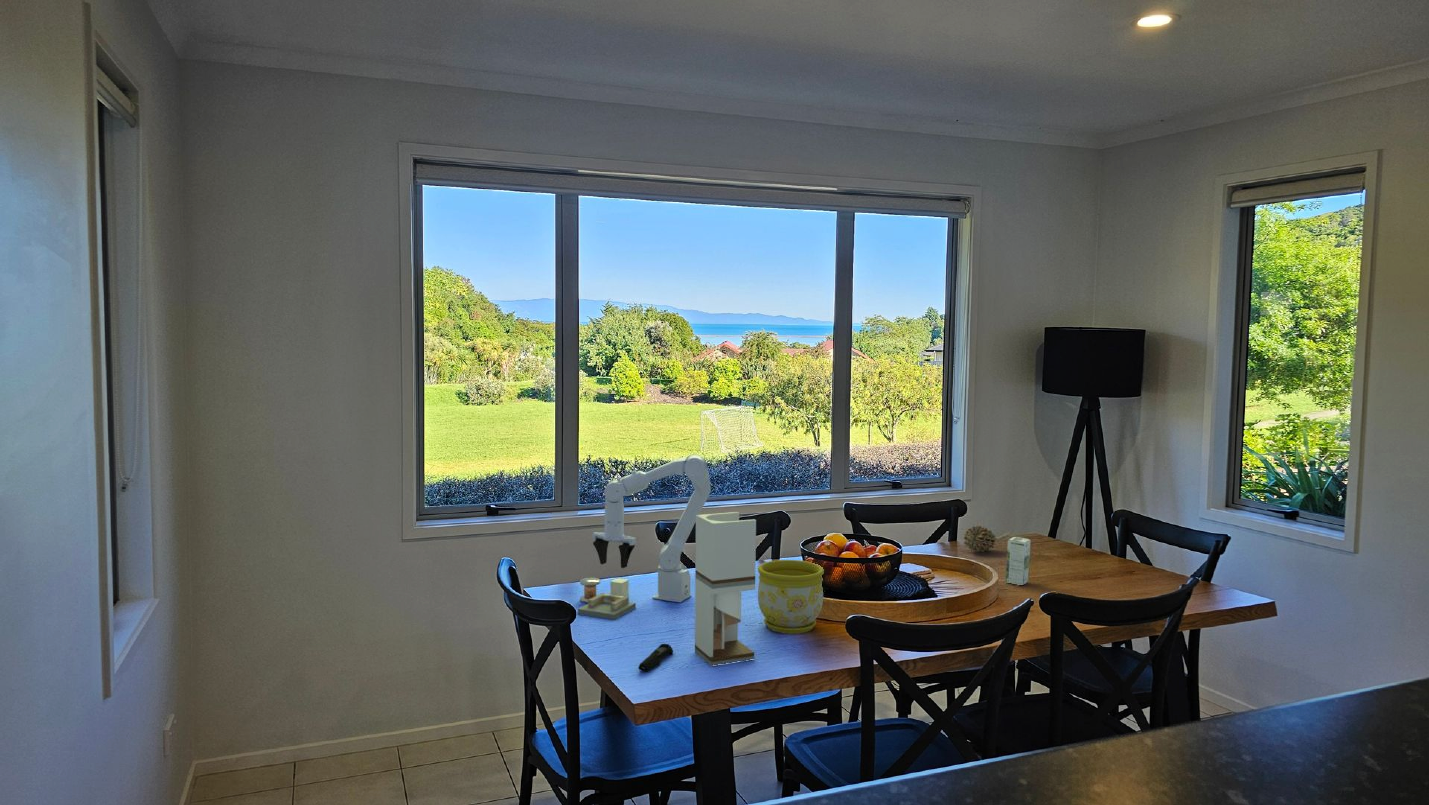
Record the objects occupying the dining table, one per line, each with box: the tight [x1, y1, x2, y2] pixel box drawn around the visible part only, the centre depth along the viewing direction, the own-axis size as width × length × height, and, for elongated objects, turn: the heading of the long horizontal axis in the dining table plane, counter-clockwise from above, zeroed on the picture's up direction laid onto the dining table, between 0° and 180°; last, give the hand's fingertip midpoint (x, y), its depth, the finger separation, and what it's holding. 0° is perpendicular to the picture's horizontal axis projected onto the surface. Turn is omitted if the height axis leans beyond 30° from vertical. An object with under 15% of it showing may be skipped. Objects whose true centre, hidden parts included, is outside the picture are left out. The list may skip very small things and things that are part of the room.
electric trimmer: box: [638, 643, 674, 672], centre depth 223 cm, size 4×16×3 cm, turn 159°
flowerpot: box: [757, 559, 824, 635], centre depth 250 cm, size 18×18×16 cm
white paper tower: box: [694, 511, 757, 667], centre depth 226 cm, size 11×11×35 cm
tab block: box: [609, 577, 630, 597], centre depth 277 cm, size 4×4×5 cm
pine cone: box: [962, 525, 1011, 552], centre depth 339 cm, size 22×10×10 cm, turn 123°
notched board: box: [577, 592, 637, 621], centre depth 263 cm, size 12×12×4 cm
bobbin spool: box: [579, 577, 601, 604], centre depth 273 cm, size 6×6×6 cm
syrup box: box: [1005, 536, 1031, 586], centre depth 295 cm, size 6×6×14 cm
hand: (613, 565), depth 276 cm, fingers open, 7 cm apart
